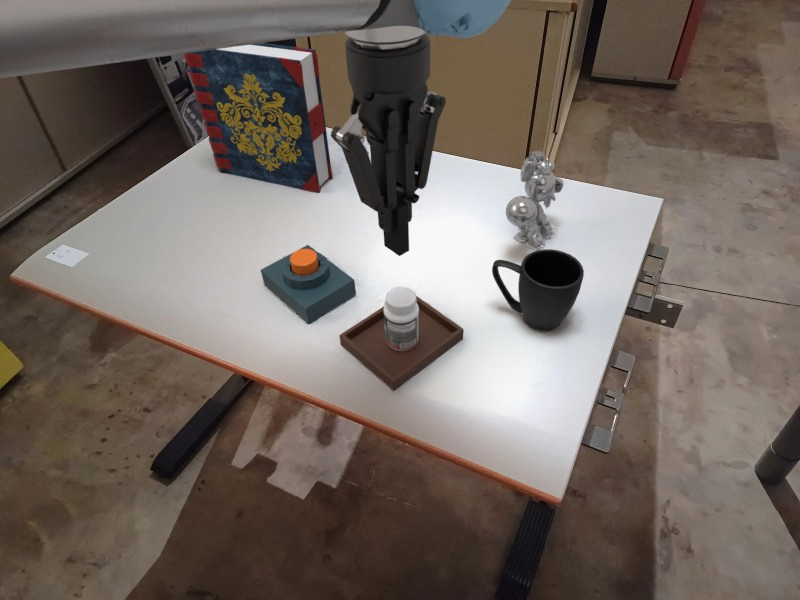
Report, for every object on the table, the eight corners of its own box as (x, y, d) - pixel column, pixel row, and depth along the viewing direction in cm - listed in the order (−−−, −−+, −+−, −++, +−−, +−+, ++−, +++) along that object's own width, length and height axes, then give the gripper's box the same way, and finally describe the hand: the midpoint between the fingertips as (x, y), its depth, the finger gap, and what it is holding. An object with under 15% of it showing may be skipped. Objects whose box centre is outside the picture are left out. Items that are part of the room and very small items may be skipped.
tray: (393, 391, 71) (393, 381, 70) (340, 344, 77) (339, 335, 76) (463, 338, 78) (464, 329, 76) (408, 299, 84) (408, 289, 82)
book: (210, 171, 113) (172, 45, 96) (230, 155, 118) (197, 32, 101) (317, 194, 106) (297, 62, 88) (334, 176, 110) (318, 48, 93)
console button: (324, 267, 83) (322, 257, 81) (302, 280, 81) (300, 269, 79) (308, 255, 85) (306, 245, 83) (286, 267, 83) (284, 256, 82)
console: (356, 295, 85) (353, 270, 81) (308, 324, 80) (303, 299, 77) (310, 259, 91) (306, 235, 88) (264, 285, 87) (257, 260, 84)
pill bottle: (392, 324, 79) (390, 280, 74) (423, 332, 78) (423, 288, 72) (380, 347, 76) (376, 303, 70) (412, 356, 75) (411, 312, 69)
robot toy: (525, 271, 88) (538, 190, 77) (490, 257, 90) (499, 177, 80) (563, 225, 96) (580, 146, 86) (531, 214, 99) (543, 136, 89)
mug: (496, 287, 85) (501, 238, 79) (575, 306, 82) (588, 256, 75) (481, 323, 80) (486, 273, 73) (565, 344, 76) (579, 294, 70)
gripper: (355, 67, 43) (374, 289, 59) (470, 26, 49) (458, 238, 65) (301, 43, 47) (332, 257, 63) (413, 9, 53) (415, 212, 69)
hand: (396, 248), depth 64 cm, fingers closed
